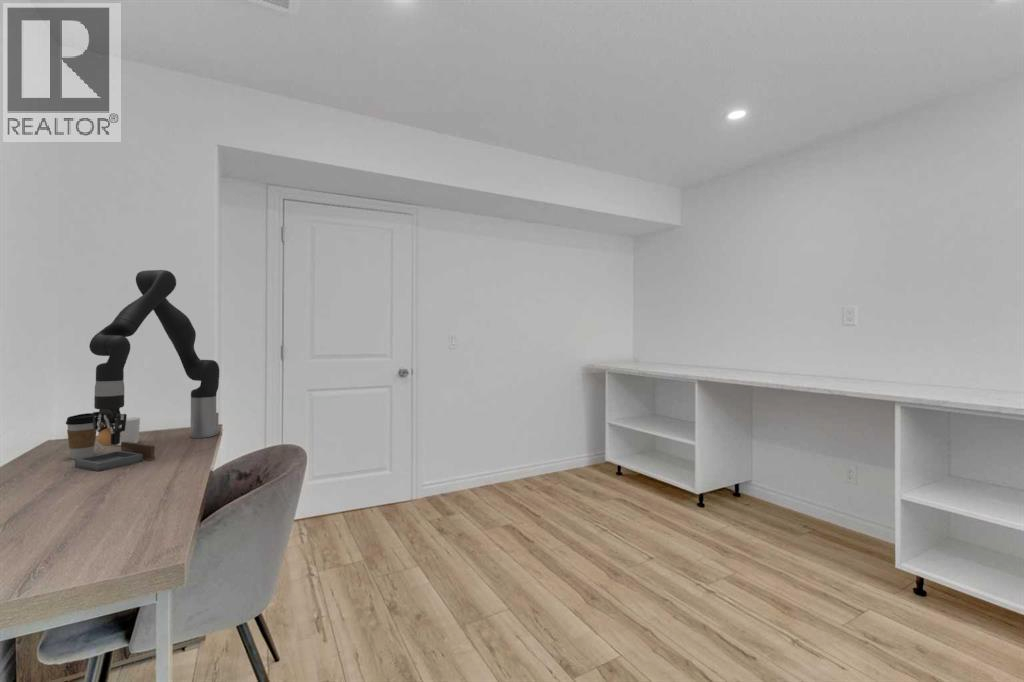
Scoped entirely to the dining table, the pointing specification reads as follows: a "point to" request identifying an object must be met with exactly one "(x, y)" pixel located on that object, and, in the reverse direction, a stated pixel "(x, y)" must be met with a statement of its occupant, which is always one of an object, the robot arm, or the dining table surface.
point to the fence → (139, 449)
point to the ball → (105, 437)
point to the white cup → (130, 430)
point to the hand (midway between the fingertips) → (109, 443)
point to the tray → (108, 460)
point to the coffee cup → (81, 435)
